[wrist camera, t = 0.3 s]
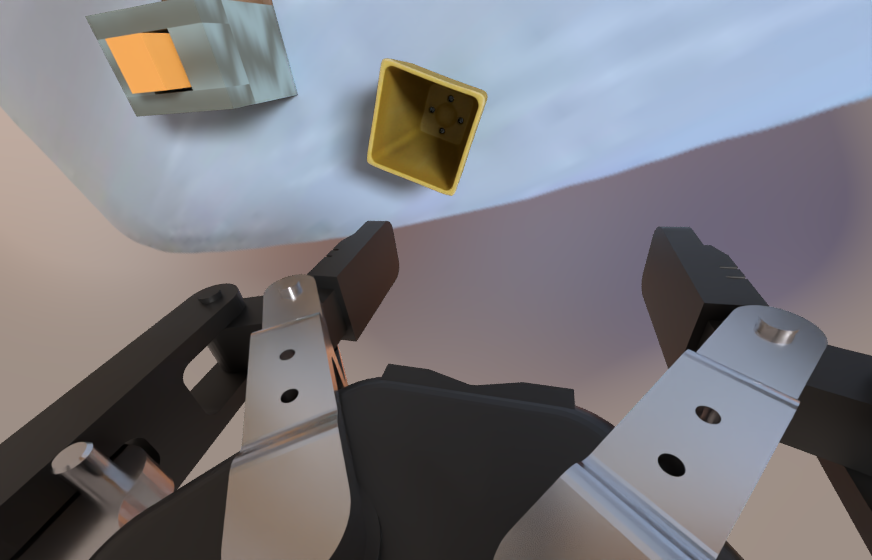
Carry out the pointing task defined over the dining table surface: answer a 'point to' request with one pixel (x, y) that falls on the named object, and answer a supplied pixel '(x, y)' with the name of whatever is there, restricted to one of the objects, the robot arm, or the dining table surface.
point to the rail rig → (206, 53)
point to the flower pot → (423, 125)
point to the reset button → (149, 62)
